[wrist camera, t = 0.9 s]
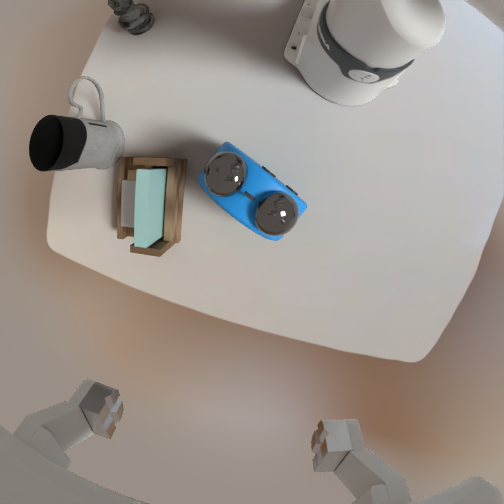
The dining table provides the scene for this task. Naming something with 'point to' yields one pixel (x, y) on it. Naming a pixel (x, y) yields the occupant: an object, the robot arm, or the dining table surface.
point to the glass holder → (76, 140)
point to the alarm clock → (251, 193)
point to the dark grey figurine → (132, 16)
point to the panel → (149, 205)
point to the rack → (171, 204)
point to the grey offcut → (128, 203)
